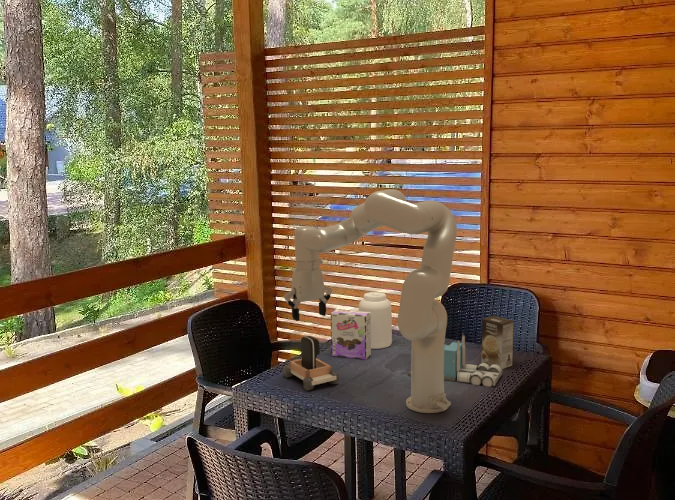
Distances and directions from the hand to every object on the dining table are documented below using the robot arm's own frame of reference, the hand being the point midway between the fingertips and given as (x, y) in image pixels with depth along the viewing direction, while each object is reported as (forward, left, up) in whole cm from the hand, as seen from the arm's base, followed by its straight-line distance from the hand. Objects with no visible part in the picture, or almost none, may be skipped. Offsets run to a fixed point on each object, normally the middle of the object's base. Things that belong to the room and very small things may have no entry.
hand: (309, 317), depth 217 cm
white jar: (+20, -40, -22) cm, 50 cm away
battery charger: (0, 0, -18) cm, 18 cm away
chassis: (0, 0, -21) cm, 21 cm away
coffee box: (-23, -61, -22) cm, 68 cm away
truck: (-23, -41, -22) cm, 52 cm away
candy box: (+14, -25, -22) cm, 36 cm away
